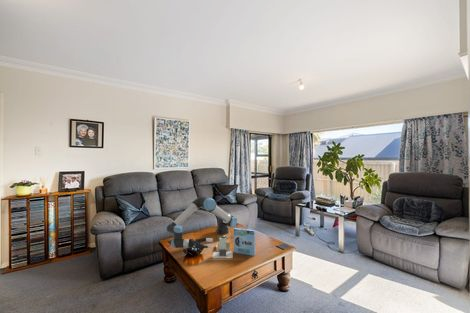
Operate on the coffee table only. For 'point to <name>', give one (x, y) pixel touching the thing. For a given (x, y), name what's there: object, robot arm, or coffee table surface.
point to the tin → (222, 246)
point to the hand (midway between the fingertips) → (212, 243)
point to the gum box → (244, 241)
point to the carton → (226, 246)
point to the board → (228, 255)
